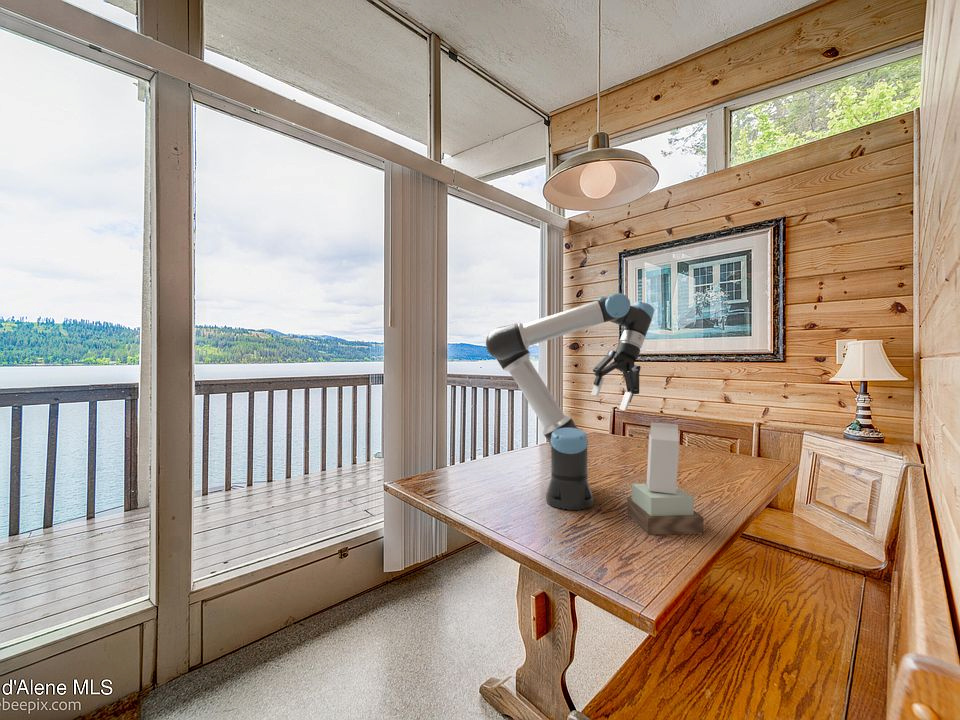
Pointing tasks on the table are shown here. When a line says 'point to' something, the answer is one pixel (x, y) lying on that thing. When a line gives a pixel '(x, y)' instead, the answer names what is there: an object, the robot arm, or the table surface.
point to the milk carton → (663, 458)
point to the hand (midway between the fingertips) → (608, 403)
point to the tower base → (665, 521)
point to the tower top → (662, 501)
